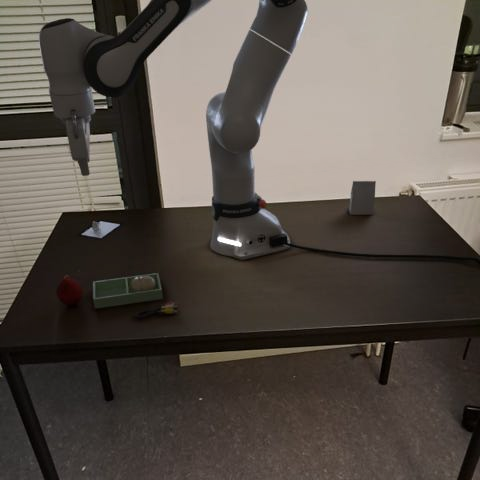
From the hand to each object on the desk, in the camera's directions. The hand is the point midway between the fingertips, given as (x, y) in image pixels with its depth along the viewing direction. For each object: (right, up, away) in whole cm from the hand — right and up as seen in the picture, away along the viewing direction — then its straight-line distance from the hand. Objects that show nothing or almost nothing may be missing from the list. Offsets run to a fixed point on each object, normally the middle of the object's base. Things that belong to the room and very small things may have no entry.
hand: (86, 168), depth 120 cm
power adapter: (-6, -8, +35) cm, 37 cm away
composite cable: (+17, -34, -2) cm, 38 cm away
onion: (-4, -32, +2) cm, 32 cm away
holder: (+9, -30, +5) cm, 31 cm away
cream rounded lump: (+13, -29, +5) cm, 32 cm away
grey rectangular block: (+74, -2, +42) cm, 85 cm away
